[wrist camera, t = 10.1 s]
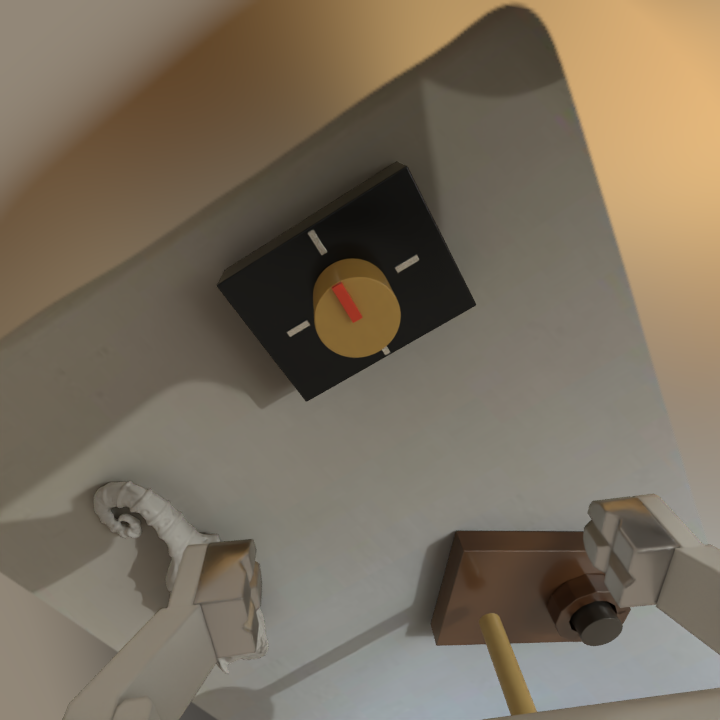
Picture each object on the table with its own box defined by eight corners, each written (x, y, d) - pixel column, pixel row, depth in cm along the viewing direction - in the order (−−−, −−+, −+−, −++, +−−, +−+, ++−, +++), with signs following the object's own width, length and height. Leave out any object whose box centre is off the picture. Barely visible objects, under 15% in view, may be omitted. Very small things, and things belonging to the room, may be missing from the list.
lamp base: (627, 531, 44) (656, 568, 40) (584, 620, 49) (607, 659, 45) (455, 530, 41) (470, 569, 38) (430, 623, 46) (441, 665, 43)
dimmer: (396, 160, 28) (407, 165, 25) (462, 289, 32) (477, 306, 29) (223, 270, 29) (215, 286, 27) (305, 379, 33) (306, 403, 30)
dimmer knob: (402, 308, 28) (416, 334, 25) (337, 344, 29) (342, 375, 26) (366, 243, 26) (376, 261, 23) (297, 283, 27) (297, 307, 24)
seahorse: (29, 536, 35) (210, 694, 41) (115, 495, 30) (310, 684, 36) (81, 485, 40) (239, 635, 45) (164, 441, 34) (332, 617, 40)
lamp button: (616, 599, 42) (628, 617, 40) (602, 626, 44) (614, 645, 42) (578, 599, 41) (589, 618, 40) (565, 627, 43) (575, 646, 41)
